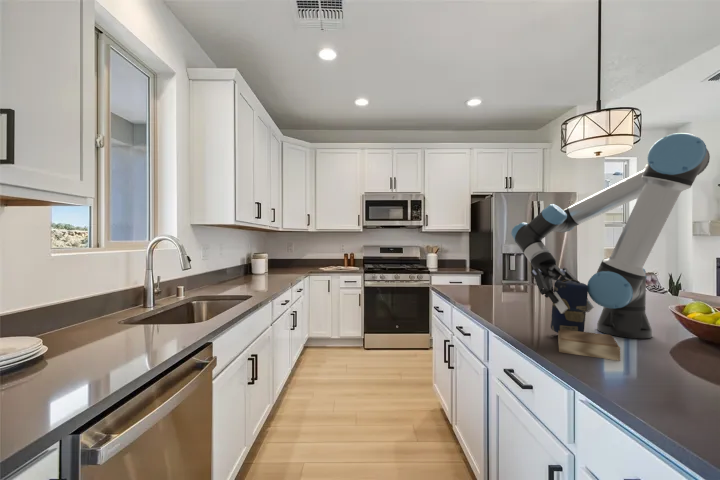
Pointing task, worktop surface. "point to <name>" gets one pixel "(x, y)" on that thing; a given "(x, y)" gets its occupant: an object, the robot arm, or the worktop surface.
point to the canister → (570, 306)
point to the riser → (588, 344)
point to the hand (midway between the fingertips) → (577, 310)
